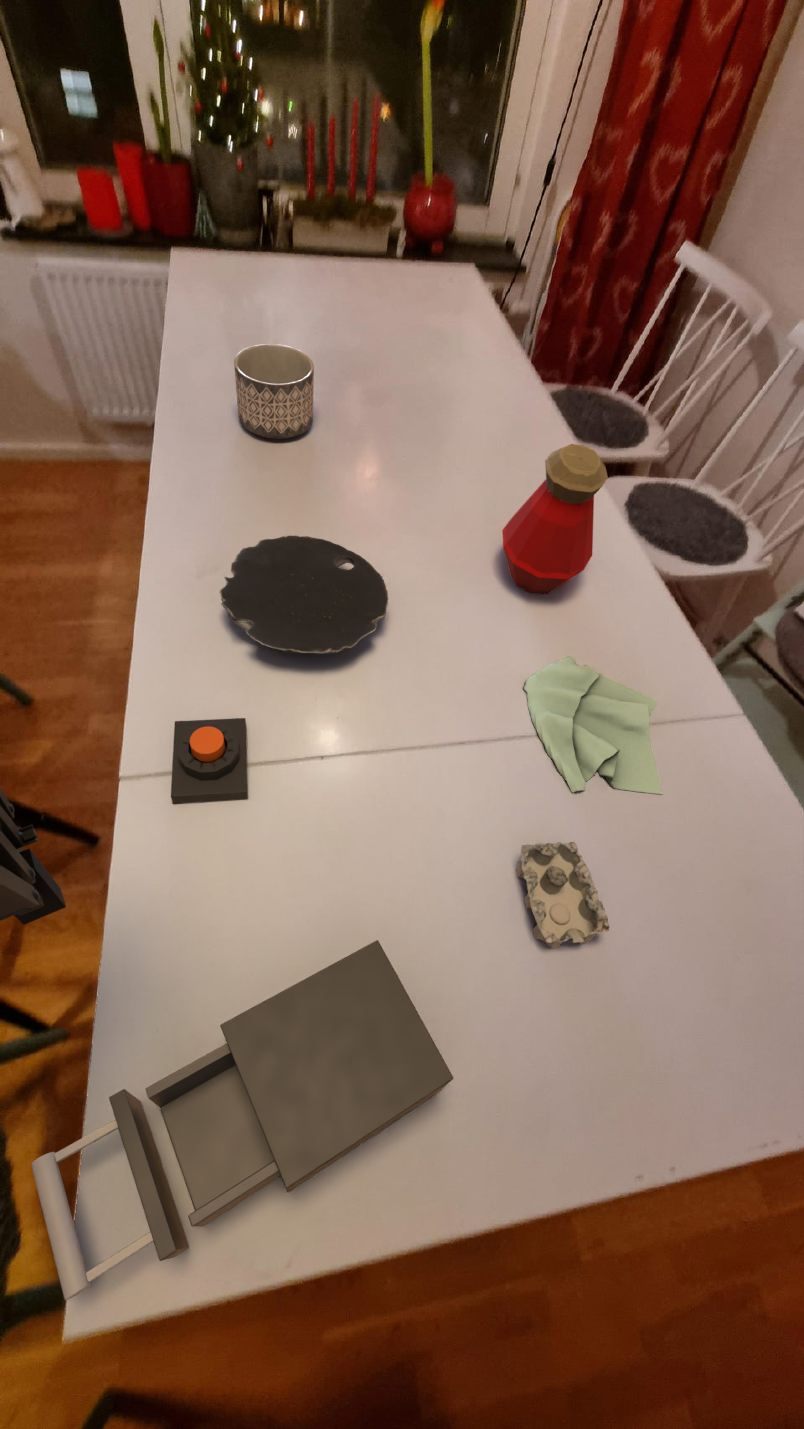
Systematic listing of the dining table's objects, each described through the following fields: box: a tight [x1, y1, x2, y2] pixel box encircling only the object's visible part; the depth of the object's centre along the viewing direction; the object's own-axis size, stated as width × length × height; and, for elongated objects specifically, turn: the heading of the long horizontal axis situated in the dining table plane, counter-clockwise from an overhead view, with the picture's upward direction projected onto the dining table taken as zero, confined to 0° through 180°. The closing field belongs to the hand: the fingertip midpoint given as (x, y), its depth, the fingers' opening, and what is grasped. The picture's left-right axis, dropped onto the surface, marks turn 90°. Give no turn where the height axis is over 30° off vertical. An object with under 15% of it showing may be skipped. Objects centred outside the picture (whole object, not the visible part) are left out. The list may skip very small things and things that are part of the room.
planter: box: [233, 343, 315, 440], centre depth 116 cm, size 13×13×10 cm
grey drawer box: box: [220, 939, 454, 1193], centre depth 59 cm, size 15×13×9 cm
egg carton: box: [515, 841, 610, 949], centre depth 73 cm, size 11×8×4 cm
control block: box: [170, 717, 249, 805], centre depth 78 cm, size 10×8×4 cm
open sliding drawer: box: [31, 1043, 281, 1301], centre depth 54 cm, size 20×11×7 cm, turn 120°
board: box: [219, 535, 389, 654], centre depth 93 cm, size 22×22×5 cm
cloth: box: [522, 655, 663, 796], centre depth 88 cm, size 20×22×2 cm
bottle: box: [501, 443, 609, 596], centre depth 98 cm, size 16×14×20 cm
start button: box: [190, 727, 225, 762], centre depth 76 cm, size 4×4×2 cm
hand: (42, 906), depth 47 cm, fingers closed
